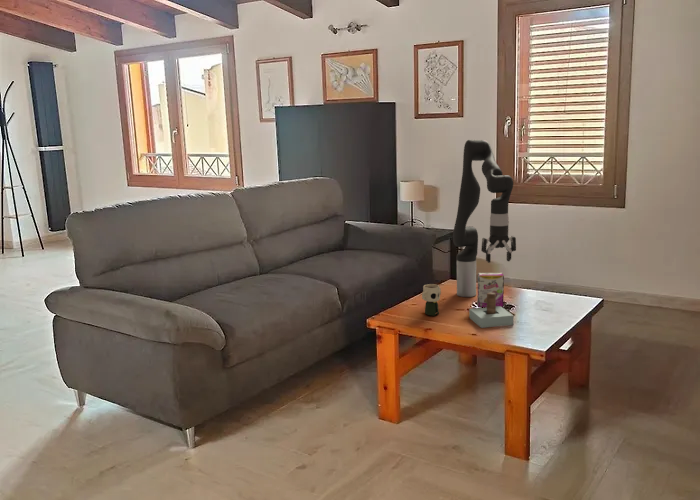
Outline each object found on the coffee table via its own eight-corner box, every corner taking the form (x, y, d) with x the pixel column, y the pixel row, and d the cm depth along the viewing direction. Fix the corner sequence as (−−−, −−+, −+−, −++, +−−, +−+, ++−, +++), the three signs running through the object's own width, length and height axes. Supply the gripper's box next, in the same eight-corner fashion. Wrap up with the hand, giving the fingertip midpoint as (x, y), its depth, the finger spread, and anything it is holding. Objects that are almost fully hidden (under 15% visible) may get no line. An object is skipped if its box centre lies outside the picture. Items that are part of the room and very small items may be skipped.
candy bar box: (478, 311, 289) (478, 275, 286) (477, 308, 294) (477, 272, 291) (503, 311, 288) (504, 274, 285) (502, 307, 293) (502, 272, 290)
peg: (485, 320, 276) (485, 292, 274) (493, 319, 277) (493, 292, 274) (488, 322, 273) (488, 295, 270) (496, 322, 273) (497, 294, 271)
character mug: (428, 319, 281) (428, 289, 278) (417, 315, 287) (416, 286, 284) (446, 313, 287) (446, 285, 285) (435, 310, 293) (434, 282, 290)
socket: (469, 317, 280) (469, 308, 280) (500, 315, 283) (500, 306, 282) (481, 327, 267) (481, 318, 266) (513, 324, 269) (513, 315, 268)
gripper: (512, 221, 276) (511, 258, 279) (479, 223, 274) (479, 260, 277) (519, 224, 268) (518, 262, 272) (485, 226, 266) (485, 264, 270)
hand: (498, 261), depth 275 cm, fingers open, 8 cm apart
